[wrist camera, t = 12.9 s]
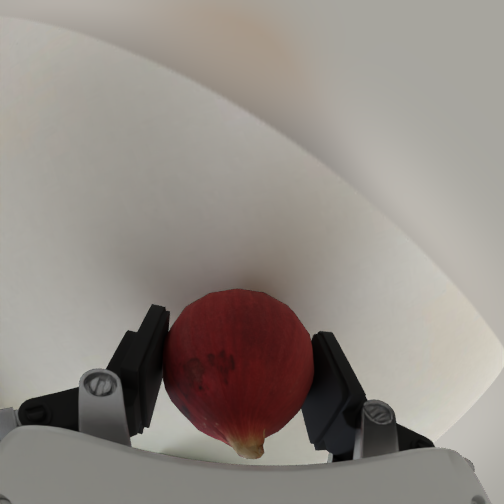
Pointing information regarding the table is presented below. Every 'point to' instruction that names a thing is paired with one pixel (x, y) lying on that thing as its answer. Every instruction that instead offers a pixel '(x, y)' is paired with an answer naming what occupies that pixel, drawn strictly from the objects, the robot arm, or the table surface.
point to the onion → (238, 367)
